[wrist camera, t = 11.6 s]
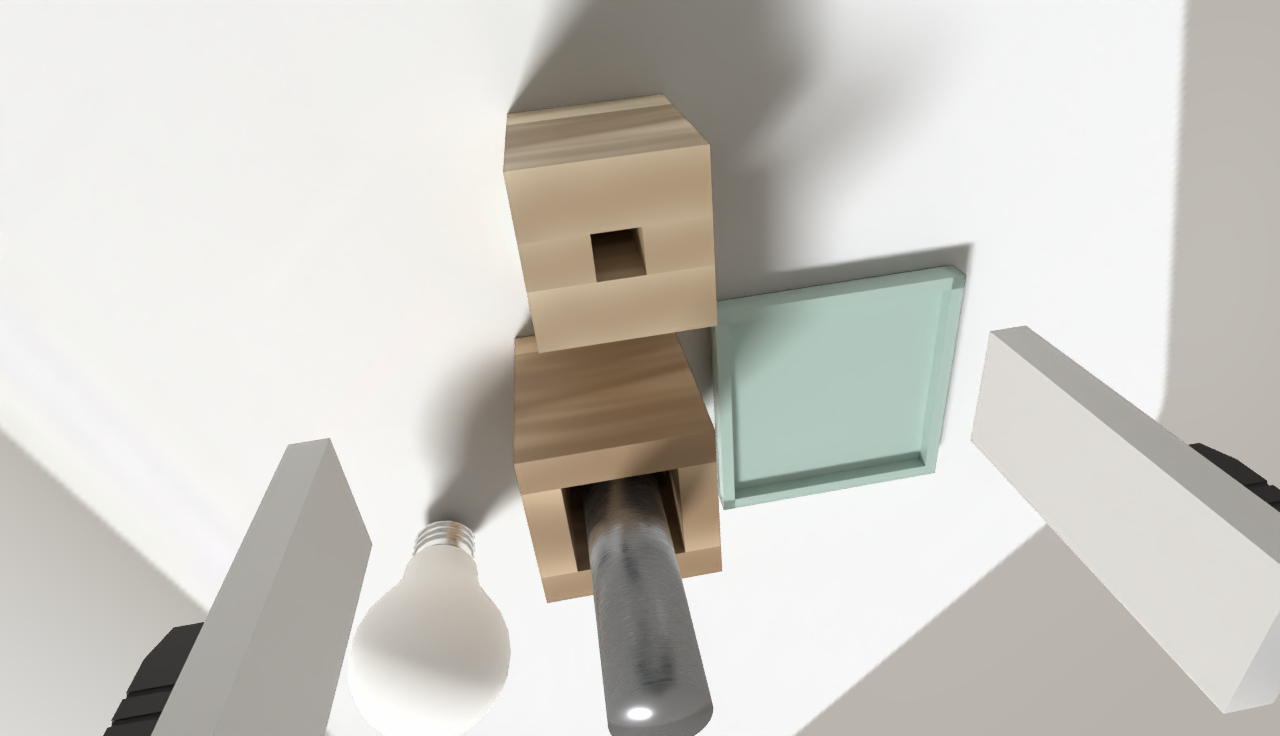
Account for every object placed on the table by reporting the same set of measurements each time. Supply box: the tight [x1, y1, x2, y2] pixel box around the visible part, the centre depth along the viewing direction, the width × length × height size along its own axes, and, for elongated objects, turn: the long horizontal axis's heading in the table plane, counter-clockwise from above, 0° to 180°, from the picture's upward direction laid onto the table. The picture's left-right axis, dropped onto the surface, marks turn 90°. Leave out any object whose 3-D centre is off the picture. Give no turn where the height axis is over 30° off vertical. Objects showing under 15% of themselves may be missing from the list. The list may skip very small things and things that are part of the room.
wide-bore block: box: [513, 332, 722, 603], centre depth 30 cm, size 7×7×9 cm
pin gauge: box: [581, 472, 713, 736], centre depth 26 cm, size 3×3×15 cm
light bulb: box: [348, 520, 511, 736], centre depth 32 cm, size 7×7×11 cm
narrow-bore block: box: [503, 94, 718, 353], centre depth 25 cm, size 6×6×8 cm
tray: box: [710, 265, 966, 510], centre depth 35 cm, size 12×12×1 cm
